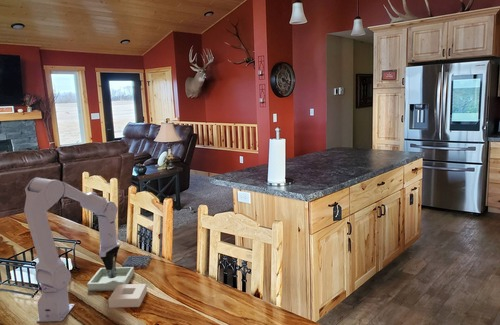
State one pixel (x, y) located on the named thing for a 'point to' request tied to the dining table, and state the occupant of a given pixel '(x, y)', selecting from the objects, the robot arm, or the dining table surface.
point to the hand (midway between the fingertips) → (110, 267)
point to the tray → (110, 279)
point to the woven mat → (137, 261)
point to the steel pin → (112, 272)
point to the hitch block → (127, 295)
